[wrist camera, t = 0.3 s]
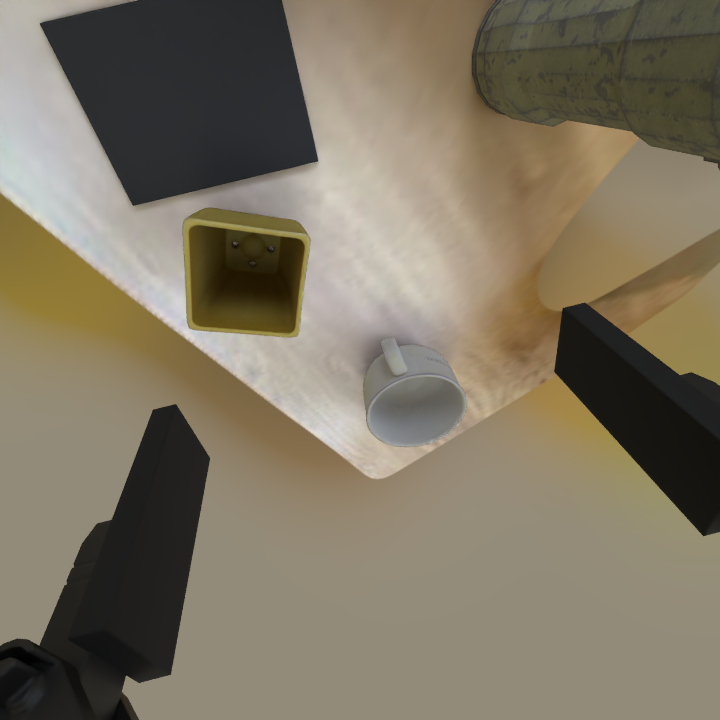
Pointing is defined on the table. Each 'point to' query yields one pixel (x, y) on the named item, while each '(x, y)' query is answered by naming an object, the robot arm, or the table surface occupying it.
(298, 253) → the flower pot
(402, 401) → the teacup
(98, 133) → the mat
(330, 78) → the table surface
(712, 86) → the thermos
